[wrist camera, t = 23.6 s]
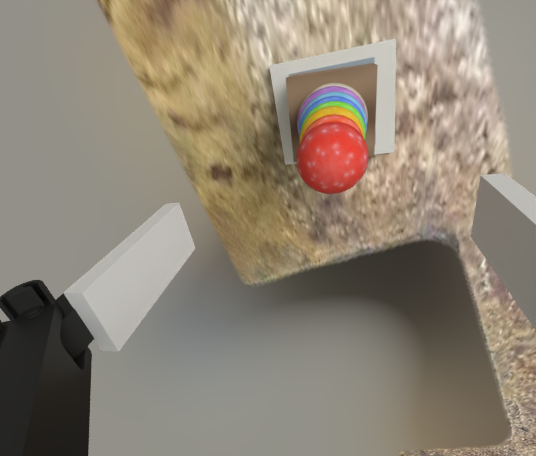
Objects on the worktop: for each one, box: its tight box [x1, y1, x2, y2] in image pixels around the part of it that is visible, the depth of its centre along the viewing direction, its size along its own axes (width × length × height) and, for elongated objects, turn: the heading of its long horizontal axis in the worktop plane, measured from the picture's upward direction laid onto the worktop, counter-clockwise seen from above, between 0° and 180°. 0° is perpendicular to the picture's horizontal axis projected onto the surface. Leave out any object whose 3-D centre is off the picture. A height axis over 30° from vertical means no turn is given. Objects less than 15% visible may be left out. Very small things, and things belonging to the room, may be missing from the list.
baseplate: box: [269, 39, 396, 165], centre depth 42 cm, size 14×16×2 cm
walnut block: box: [286, 63, 378, 162], centre depth 38 cm, size 10×10×7 cm
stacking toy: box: [297, 83, 368, 194], centre depth 27 cm, size 8×8×19 cm
